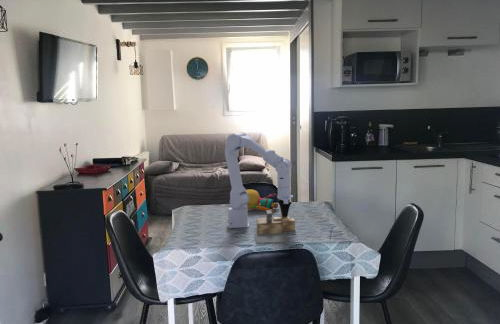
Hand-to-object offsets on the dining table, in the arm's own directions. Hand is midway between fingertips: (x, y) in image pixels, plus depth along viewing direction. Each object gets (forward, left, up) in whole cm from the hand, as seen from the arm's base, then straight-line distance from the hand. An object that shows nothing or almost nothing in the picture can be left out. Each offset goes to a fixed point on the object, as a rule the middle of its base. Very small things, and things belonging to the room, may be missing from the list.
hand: (284, 215), depth 202 cm
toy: (-11, +41, -7) cm, 43 cm away
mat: (-7, -12, -7) cm, 15 cm away
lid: (-7, 0, -3) cm, 7 cm away
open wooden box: (-4, 0, -7) cm, 8 cm away
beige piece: (-2, 0, -2) cm, 2 cm away
